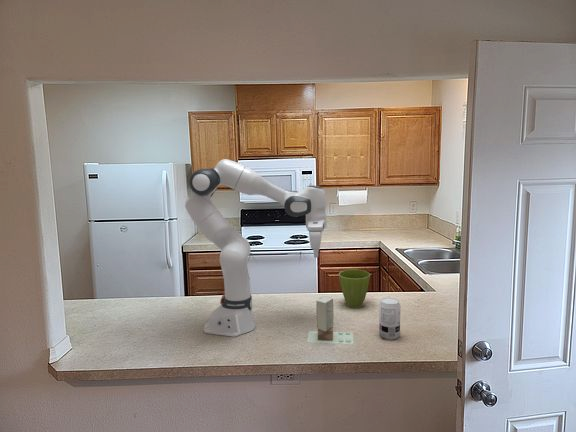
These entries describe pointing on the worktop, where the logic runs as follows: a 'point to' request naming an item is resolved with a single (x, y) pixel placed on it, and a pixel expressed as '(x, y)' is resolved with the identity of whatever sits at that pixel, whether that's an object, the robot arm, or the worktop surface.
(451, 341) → the worktop surface
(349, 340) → the base board
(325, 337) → the walnut brick
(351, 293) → the flower pot
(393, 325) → the supplement can
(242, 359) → the worktop surface
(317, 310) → the skincare box
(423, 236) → the worktop surface
